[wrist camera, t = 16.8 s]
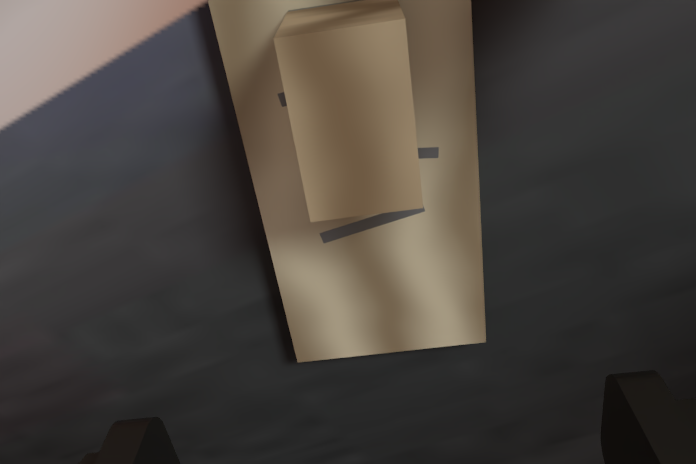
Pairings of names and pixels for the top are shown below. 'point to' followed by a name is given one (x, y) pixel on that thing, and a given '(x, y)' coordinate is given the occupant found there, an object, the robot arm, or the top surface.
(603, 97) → the top surface
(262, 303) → the top surface
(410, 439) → the top surface
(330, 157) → the block
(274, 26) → the board
